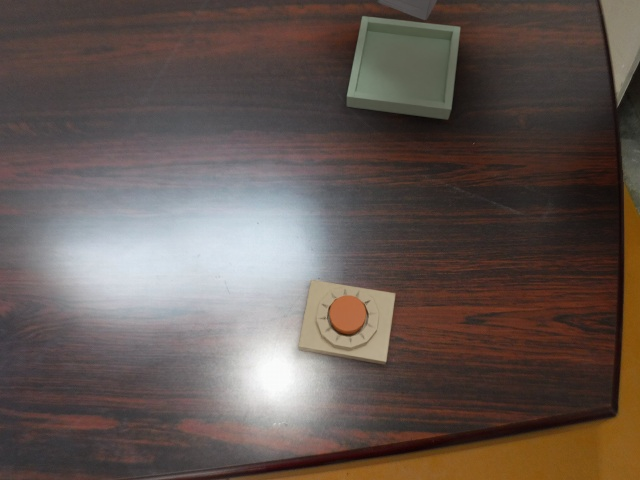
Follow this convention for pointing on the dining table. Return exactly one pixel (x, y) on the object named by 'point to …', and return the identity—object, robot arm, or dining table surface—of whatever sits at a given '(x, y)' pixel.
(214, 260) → the dining table surface
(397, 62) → the shallow square tray
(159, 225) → the dining table surface
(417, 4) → the cosmetic box
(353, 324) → the button
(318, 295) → the orange push button box
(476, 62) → the dining table surface
